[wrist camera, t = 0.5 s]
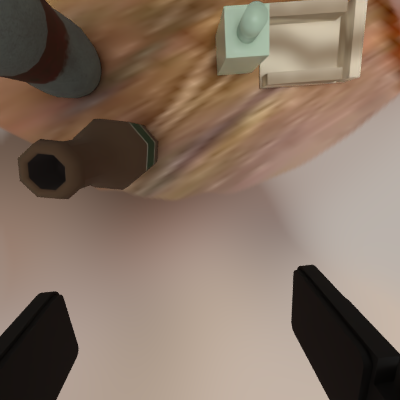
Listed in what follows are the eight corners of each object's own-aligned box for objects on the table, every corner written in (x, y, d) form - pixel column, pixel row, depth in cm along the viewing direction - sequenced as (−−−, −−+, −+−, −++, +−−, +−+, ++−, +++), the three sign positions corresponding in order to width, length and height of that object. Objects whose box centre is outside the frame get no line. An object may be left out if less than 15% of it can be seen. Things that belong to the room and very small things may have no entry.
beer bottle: (122, 112, 35) (-6, 69, 12) (168, 138, 36) (136, 144, 13) (102, 159, 36) (-45, 200, 13) (147, 181, 38) (85, 255, 15)
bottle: (215, 36, 33) (229, -14, 22) (250, 33, 33) (282, -17, 22) (217, 75, 34) (231, 47, 23) (250, 72, 34) (281, 43, 23)
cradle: (258, 14, 32) (267, 1, 29) (349, 8, 33) (368, -6, 29) (259, 88, 35) (266, 84, 32) (343, 82, 35) (359, 76, 32)
